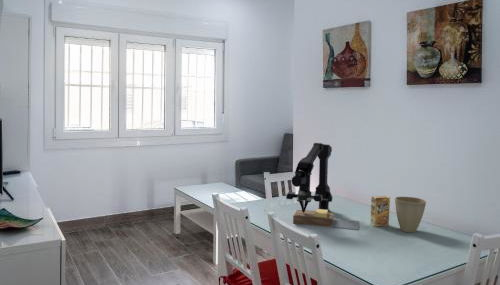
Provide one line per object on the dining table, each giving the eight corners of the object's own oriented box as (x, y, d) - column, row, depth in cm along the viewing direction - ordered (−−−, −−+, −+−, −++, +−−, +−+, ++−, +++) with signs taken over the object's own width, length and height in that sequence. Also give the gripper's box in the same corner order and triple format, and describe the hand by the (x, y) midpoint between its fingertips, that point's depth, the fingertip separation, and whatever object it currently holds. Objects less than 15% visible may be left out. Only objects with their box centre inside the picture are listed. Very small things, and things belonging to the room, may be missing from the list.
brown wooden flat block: (296, 216, 238) (297, 209, 237) (333, 220, 233) (333, 212, 232) (293, 223, 224) (293, 215, 224) (331, 227, 219) (331, 219, 219)
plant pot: (424, 236, 207) (426, 204, 206) (392, 232, 213) (394, 201, 211) (423, 228, 221) (425, 198, 220) (393, 224, 226) (395, 195, 225)
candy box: (374, 226, 221) (375, 197, 220) (369, 224, 225) (371, 196, 224) (388, 225, 224) (390, 197, 223) (384, 223, 228) (385, 195, 227)
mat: (334, 219, 233) (334, 218, 233) (358, 221, 230) (358, 221, 230) (332, 227, 218) (332, 226, 218) (358, 230, 215) (358, 229, 215)
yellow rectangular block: (316, 212, 232) (316, 208, 232) (327, 213, 231) (327, 209, 230) (314, 216, 223) (314, 212, 223) (326, 217, 222) (326, 213, 222)
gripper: (284, 185, 223) (283, 214, 224) (320, 188, 218) (319, 217, 219) (288, 181, 233) (287, 209, 235) (322, 184, 229) (321, 212, 230)
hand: (303, 212), depth 229 cm, fingers closed
